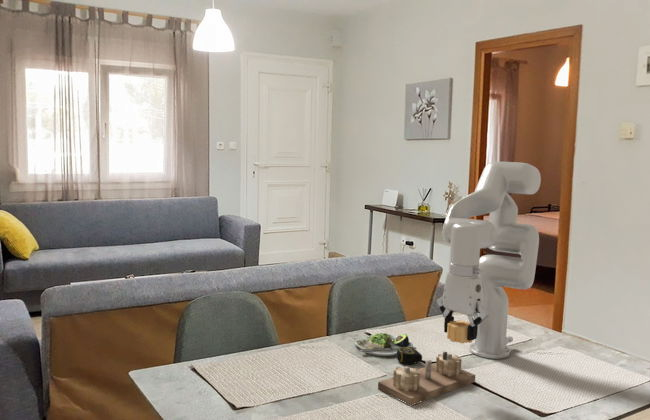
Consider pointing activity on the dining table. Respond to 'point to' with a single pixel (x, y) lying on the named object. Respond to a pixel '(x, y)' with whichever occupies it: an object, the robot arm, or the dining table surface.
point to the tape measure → (408, 355)
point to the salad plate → (383, 344)
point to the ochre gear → (458, 331)
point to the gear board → (427, 379)
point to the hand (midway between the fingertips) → (460, 334)
